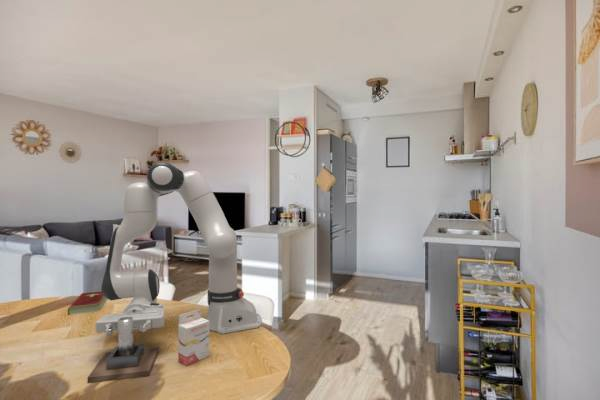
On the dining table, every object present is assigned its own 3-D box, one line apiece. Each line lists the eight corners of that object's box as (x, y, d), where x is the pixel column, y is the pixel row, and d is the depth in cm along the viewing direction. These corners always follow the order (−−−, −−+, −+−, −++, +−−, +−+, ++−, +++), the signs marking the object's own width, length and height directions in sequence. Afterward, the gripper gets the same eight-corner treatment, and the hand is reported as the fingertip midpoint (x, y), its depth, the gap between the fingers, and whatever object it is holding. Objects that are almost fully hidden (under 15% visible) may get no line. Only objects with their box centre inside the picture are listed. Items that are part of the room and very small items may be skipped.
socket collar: (144, 353, 108) (144, 343, 108) (137, 366, 100) (137, 356, 100) (115, 356, 106) (115, 346, 106) (106, 369, 98) (106, 359, 98)
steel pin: (135, 357, 105) (134, 316, 105) (131, 363, 102) (130, 321, 101) (121, 358, 105) (120, 317, 104) (117, 365, 101) (116, 322, 100)
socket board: (158, 351, 112) (158, 347, 112) (148, 375, 98) (148, 370, 98) (106, 356, 109) (105, 352, 109) (87, 382, 94) (87, 377, 94)
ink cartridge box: (186, 366, 103) (186, 319, 102) (177, 361, 106) (177, 315, 105) (210, 355, 109) (209, 311, 109) (201, 351, 112) (200, 307, 112)
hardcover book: (67, 316, 145) (67, 306, 145) (81, 301, 165) (81, 292, 165) (99, 312, 149) (99, 303, 149) (109, 298, 169) (108, 290, 169)
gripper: (103, 308, 113) (87, 324, 100) (167, 303, 118) (160, 318, 104) (103, 326, 114) (87, 345, 100) (167, 321, 118) (160, 338, 105)
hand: (125, 331), depth 102 cm, fingers open, 8 cm apart
